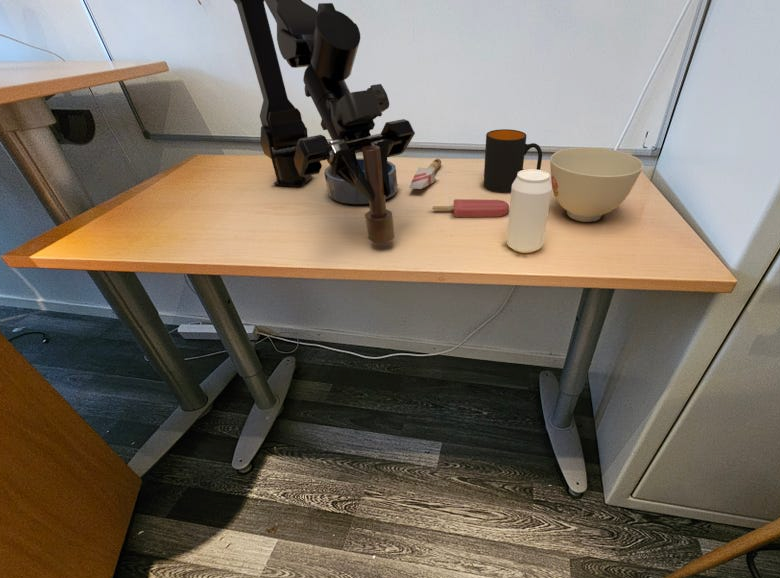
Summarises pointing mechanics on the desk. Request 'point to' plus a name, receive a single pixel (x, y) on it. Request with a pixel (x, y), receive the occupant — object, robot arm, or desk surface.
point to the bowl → (592, 180)
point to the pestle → (377, 198)
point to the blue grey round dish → (348, 193)
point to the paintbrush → (425, 175)
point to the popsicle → (477, 208)
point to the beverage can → (528, 210)
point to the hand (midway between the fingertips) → (380, 197)
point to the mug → (505, 158)
